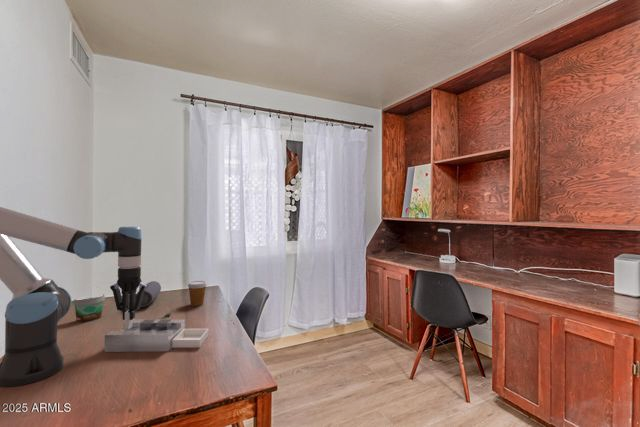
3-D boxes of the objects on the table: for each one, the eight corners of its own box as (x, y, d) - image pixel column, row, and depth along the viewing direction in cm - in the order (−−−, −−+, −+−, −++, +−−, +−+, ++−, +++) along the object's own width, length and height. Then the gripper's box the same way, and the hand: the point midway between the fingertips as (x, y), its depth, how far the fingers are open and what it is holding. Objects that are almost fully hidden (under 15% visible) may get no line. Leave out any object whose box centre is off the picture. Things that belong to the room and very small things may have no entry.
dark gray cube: (150, 333, 116) (150, 323, 116) (139, 333, 115) (139, 323, 115) (155, 329, 120) (155, 319, 120) (144, 329, 119) (145, 319, 119)
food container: (76, 325, 133) (77, 302, 133) (72, 321, 137) (72, 299, 137) (109, 317, 143) (109, 296, 143) (104, 314, 147) (104, 294, 147)
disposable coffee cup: (187, 303, 168) (187, 281, 168) (205, 301, 172) (206, 280, 172) (187, 308, 159) (188, 285, 159) (206, 306, 163) (207, 283, 163)
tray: (199, 347, 113) (200, 339, 113) (172, 348, 113) (172, 340, 113) (208, 335, 124) (208, 328, 124) (183, 336, 124) (183, 328, 124)
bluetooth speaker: (144, 297, 176) (144, 280, 176) (161, 296, 179) (162, 279, 179) (132, 310, 154) (133, 290, 154) (153, 308, 157) (153, 289, 157)
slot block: (167, 351, 110) (168, 334, 110) (104, 351, 109) (104, 335, 109) (184, 333, 126) (184, 319, 126) (129, 334, 125) (129, 319, 125)
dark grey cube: (166, 333, 116) (167, 323, 116) (155, 333, 116) (156, 323, 116) (171, 329, 120) (171, 319, 120) (160, 329, 120) (160, 319, 120)
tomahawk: (144, 335, 126) (144, 332, 126) (131, 332, 128) (131, 329, 128) (179, 317, 147) (179, 315, 147) (168, 315, 148) (168, 312, 148)
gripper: (151, 265, 121) (150, 324, 121) (117, 265, 120) (116, 324, 120) (142, 268, 114) (141, 331, 114) (105, 268, 113) (104, 332, 113)
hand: (128, 328), depth 117 cm, fingers closed
